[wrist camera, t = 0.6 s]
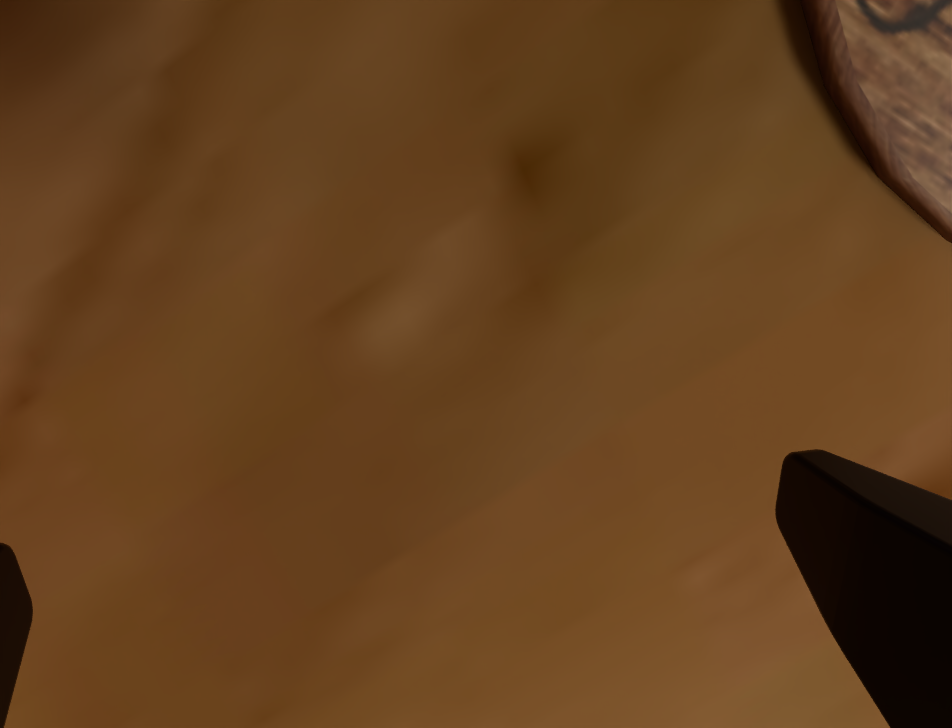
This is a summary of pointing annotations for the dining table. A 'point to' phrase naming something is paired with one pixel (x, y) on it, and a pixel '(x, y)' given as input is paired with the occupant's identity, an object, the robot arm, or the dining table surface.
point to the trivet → (893, 91)
